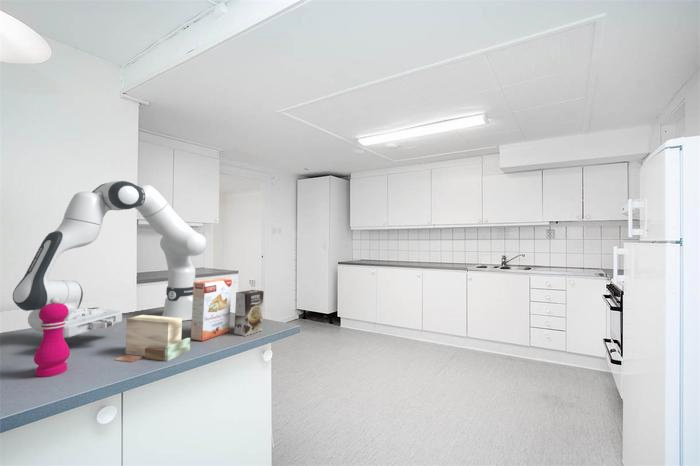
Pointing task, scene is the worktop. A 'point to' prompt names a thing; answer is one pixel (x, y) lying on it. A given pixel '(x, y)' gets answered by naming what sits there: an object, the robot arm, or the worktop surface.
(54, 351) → the pepper mill
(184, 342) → the trap course
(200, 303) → the cracker box
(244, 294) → the coffee box
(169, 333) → the maple block
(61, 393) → the worktop surface
